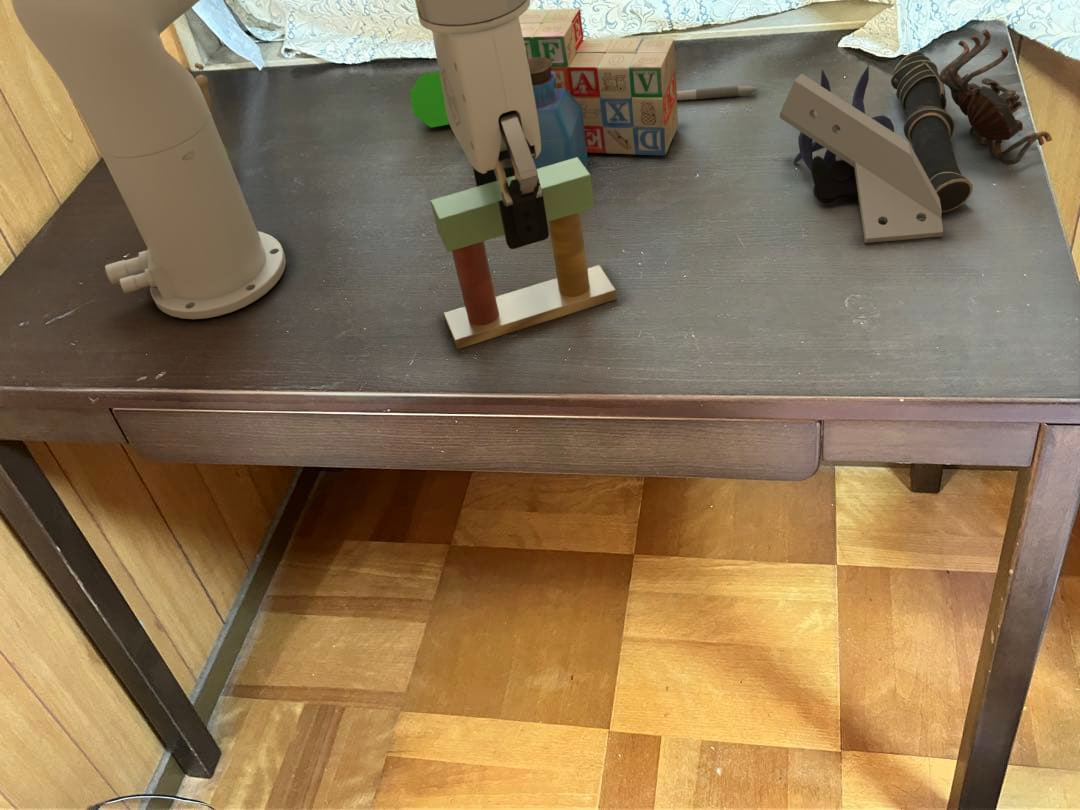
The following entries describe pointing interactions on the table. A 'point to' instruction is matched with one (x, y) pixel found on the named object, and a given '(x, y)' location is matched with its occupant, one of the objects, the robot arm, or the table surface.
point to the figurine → (829, 173)
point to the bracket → (869, 163)
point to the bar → (478, 207)
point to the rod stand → (526, 289)
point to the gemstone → (429, 100)
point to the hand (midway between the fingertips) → (512, 213)
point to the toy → (988, 104)
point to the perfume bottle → (556, 117)
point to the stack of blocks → (609, 81)
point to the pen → (715, 92)
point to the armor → (930, 127)
